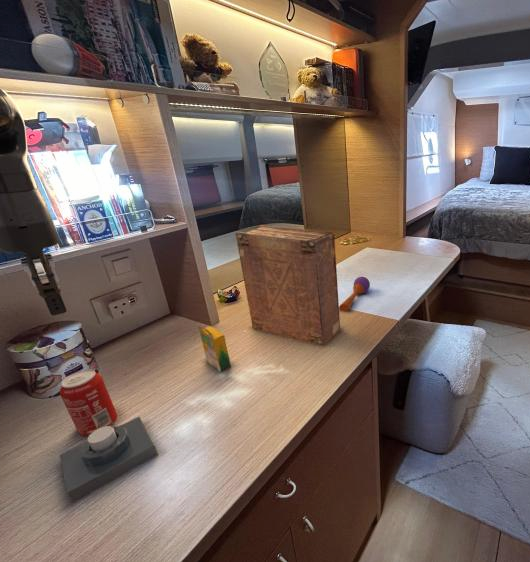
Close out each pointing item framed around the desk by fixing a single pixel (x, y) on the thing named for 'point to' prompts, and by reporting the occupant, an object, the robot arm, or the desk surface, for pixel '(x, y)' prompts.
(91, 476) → the button base
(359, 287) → the purple and orange maraca
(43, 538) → the desk surface
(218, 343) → the crayon box
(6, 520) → the desk surface
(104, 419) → the beverage can
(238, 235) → the brown wooden chest
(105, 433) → the white button cap
